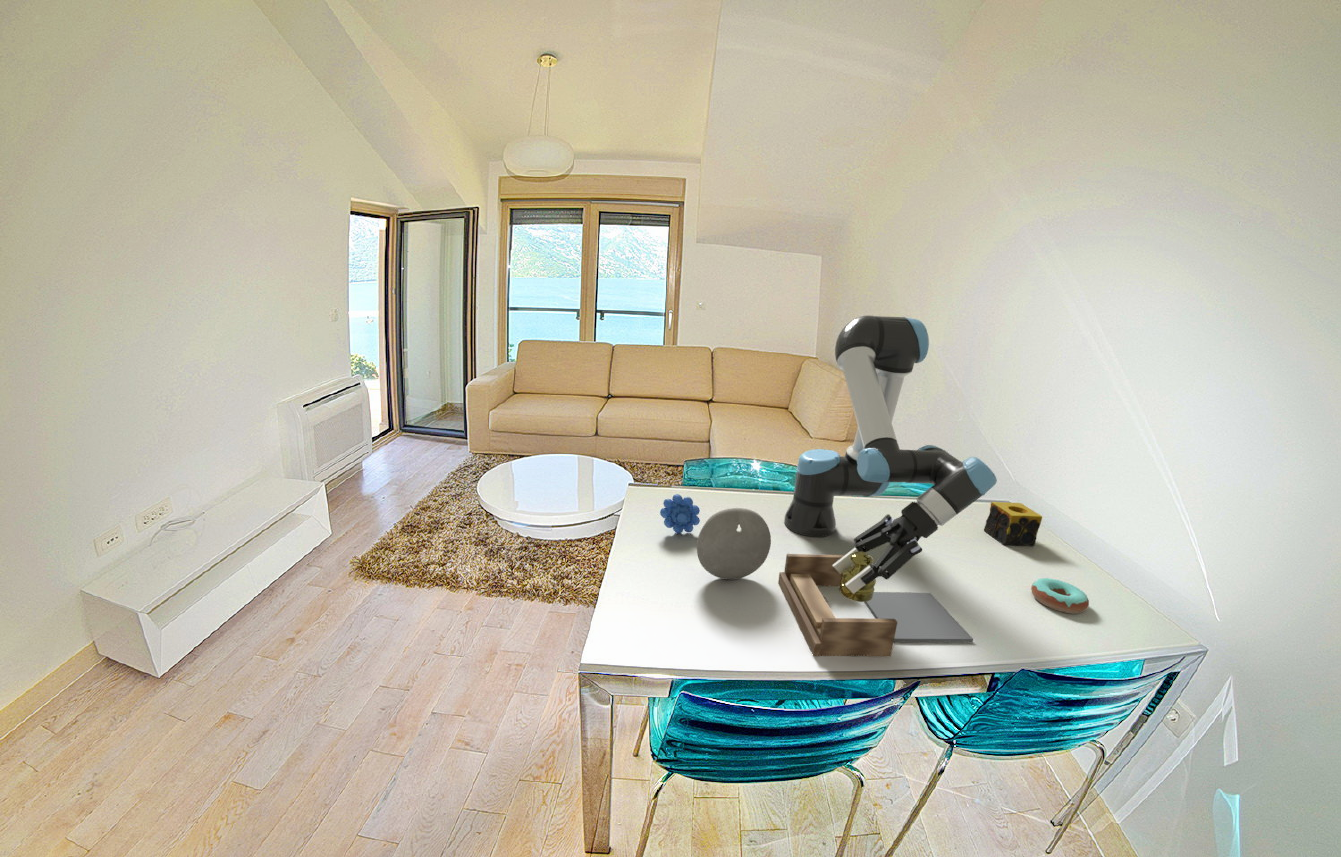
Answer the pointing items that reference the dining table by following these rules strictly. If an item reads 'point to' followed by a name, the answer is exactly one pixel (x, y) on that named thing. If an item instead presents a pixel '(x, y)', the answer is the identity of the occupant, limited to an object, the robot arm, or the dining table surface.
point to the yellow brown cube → (1013, 524)
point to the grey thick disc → (733, 543)
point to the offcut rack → (818, 618)
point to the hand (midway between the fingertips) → (842, 578)
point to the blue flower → (680, 514)
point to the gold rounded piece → (847, 574)
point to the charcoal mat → (917, 617)
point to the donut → (1060, 595)
